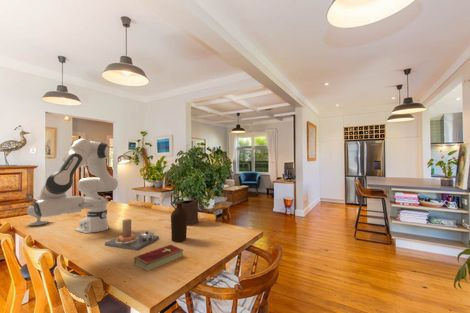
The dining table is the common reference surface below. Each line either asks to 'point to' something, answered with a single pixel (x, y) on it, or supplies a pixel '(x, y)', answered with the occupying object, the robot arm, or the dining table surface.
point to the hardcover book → (158, 257)
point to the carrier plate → (134, 241)
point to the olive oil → (178, 223)
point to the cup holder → (190, 210)
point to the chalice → (32, 213)
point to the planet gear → (126, 232)
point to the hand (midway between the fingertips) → (103, 200)
